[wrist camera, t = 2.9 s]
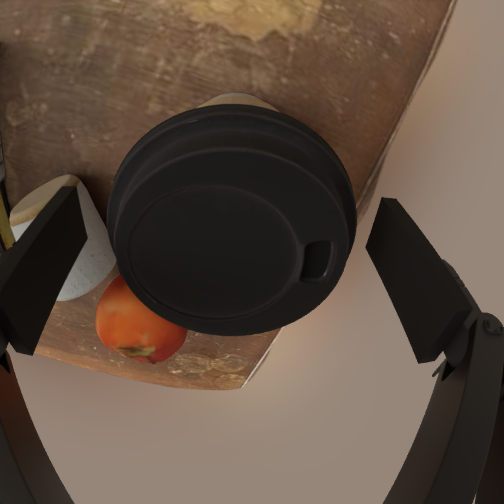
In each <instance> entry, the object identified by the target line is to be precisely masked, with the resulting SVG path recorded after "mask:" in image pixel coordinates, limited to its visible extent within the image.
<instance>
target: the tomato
mask: <svg viewBox="0 0 504 504" xmlns="http://www.w3.org/2000/svg"><path fill="white" fill-rule="evenodd" d="M95 326H96V331H97V333H98V335H99V337H100V339H101V340H102V342H103V343H104V344H105V345H106V346H107V347H108V348H110V349H112V350H114V351H115V352H117V353H119V354H120V355H122V356H125V357H127V358H130V359H133V360H136V361H140V362H147V363H151V364H155V363H156V362H162V361H164V360H166V359H168V358H169V357H170V356H172V355H173V354H174V353H175V352H176V351H177V350H178V349H179V348H180V347H181V346H182V345H183V343H184V341H185V339H186V335H187V331H188V329H185V328H183V327H180V326H177V325H175V324H173V323H171V322H169V321H167V320H165V319H163V318H161V317H160V316H158V315H157V314H155V313H154V312H152V311H151V310H150V309H148V308H147V307H146V306H145V305H144V304H143V303H142V302H141V301H140V300H139V299H138V298H137V297H136V296H135V295H134V294H133V293H132V291H131V290H130V289H129V287H128V286H127V284H126V282H125V281H124V279H123V277H122V275H119V276H118V277H117V278H116V279H115V280H113V282H112V283H111V284H110V285H109V287H108V288H107V289H106V291H105V292H104V294H103V296H102V298H101V300H100V302H99V304H98V306H97V309H96V323H95Z"/></svg>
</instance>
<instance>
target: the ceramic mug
mask: <svg viewBox="0 0 504 504" xmlns="http://www.w3.org/2000/svg"><path fill="white" fill-rule="evenodd" d="M62 186H77V191H78V196H79V201H80V206H81V210H82V215H83V219H84V224H85V228H86V232H87V236H88V239H87V241H86V243H85V245H84V247H83V248H82V250H81V252H80V254H79V256H78V258H77V260H76V261H75V263H74V265H73V267H72V269H71V271H70V273H69V275H68V277H67V279H66V281H65V283H64V285H63V287H62V289H61V291H60V293H59V295H58V298H57V300H56V301H67V300H71V299H74V298H77V297H79V296H81V295H84V294H86V293H88V292H89V291H91V290H92V289H94V288H95V287H96V286H97V285H98V284H99V283H101V282H102V281H103V280H104V279H105V278H106V277H107V275H108V274H109V273H110V271H111V270H112V269H113V267H114V265H115V264H116V257H115V255H114V253H113V250H112V247H111V244H110V240H109V236H108V231H107V229H106V227H105V225H104V223H103V221H102V219H101V217H100V215H99V213H98V211H97V210H96V208H95V206H94V204H93V201H92V199H91V197H90V195H89V193H88V191H87V189H86V188H85V186H84V185H83V183H82V182H81V180H80V179H79V178H78V177H77V176H75V175H70V174H66V175H63V176H60V177H57V178H55V179H53V180H51V181H49V182H47V183H45V184H43V185H42V186H40V187H38V188H37V189H35V190H34V191H32V192H31V193H29V194H28V195H27V196H25V197H24V198H23V199H22V200H21V201H19V202H18V204H17V205H16V206H15V207H14V208H13V209H12V211H11V214H10V218H9V221H10V227H11V229H12V232H13V234H14V237H15V240H16V242H17V240H18V239H19V238H20V236H21V235H22V234H23V232H24V231H25V230H26V229H27V227H28V226H29V225H30V223H31V222H32V221H33V220H34V218H35V217H36V216H37V215H38V214H39V212H40V211H41V210H42V209H43V207H44V206H45V205H46V204H47V203H48V202H49V200H50V199H51V198H52V197H53V196H54V195H55V193H56V192H57V191H58V190H59V189H60V188H61V187H62Z"/></svg>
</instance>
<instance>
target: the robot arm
mask: <svg viewBox="0 0 504 504" xmlns="http://www.w3.org/2000/svg"><path fill="white" fill-rule="evenodd" d="M87 239H88V236H87V232H86V228H85V224H84V219H83V215H82V210H81V206H80V201H79V196H78V191H77V186H62V187H61V188H60V189H59V190H58V191H57V192H56V193H55V195H54V196H53V197H52V198H51V199H50V200H49V202H48V203H47V204H46V205H45V206H44V207H43V209H42V210H41V211H40V212H39V214H38V215H37V216H36V217H35V218H34V220H33V221H32V222H31V223H30V225H29V226H28V227H27V229H26V230H25V231H24V232H23V234H22V235H21V236H20V238H19V239H18V240H17V242H16V243H15V244H14V246H13V247H10V248H9V249H8V250H6V251H5V252H4V253H3V254H2V255H1V256H0V504H74V502H73V501H72V499H71V497H70V495H69V494H68V492H67V491H66V489H65V487H64V485H63V483H62V482H61V480H60V478H59V476H58V474H57V473H56V471H55V469H54V467H53V465H52V463H51V461H50V459H49V457H48V455H47V453H46V451H45V449H44V447H43V445H42V442H41V440H40V438H39V436H38V433H37V431H36V429H35V427H34V424H33V422H32V420H31V417H30V415H29V412H28V409H27V407H26V404H25V401H24V399H23V396H22V393H21V390H20V387H19V385H18V382H17V378H16V375H15V372H14V369H13V365H12V362H11V359H10V355H9V354H8V352H7V350H6V348H7V345H8V343H9V342H10V344H11V345H12V347H13V348H14V350H15V351H16V352H18V353H22V354H27V355H31V356H32V355H33V353H34V351H35V348H36V346H37V343H38V341H39V338H40V336H41V334H42V331H43V329H44V326H45V324H46V322H47V320H48V317H49V315H50V313H51V311H52V308H53V306H54V304H55V302H56V300H57V298H58V295H59V293H60V291H61V289H62V287H63V285H64V283H65V281H66V279H67V277H68V275H69V273H70V271H71V269H72V267H73V265H74V263H75V261H76V260H77V258H78V256H79V254H80V252H81V250H82V248H83V247H84V245H85V243H86V241H87ZM366 250H367V252H368V254H369V255H370V258H371V260H372V262H373V263H374V265H375V267H376V269H377V271H378V274H379V276H380V278H381V280H382V282H383V284H384V286H385V288H386V290H387V292H388V295H389V297H390V299H391V301H392V303H393V305H394V308H395V310H396V312H397V314H398V316H399V318H400V321H401V323H402V325H403V328H404V330H405V332H406V335H407V337H408V339H409V342H410V344H411V347H412V349H413V352H414V354H415V357H416V359H417V362H418V364H419V363H426V362H431V361H435V360H436V359H437V357H438V356H439V355H440V354H441V352H442V351H444V354H445V356H446V359H445V360H444V361H443V362H442V363H441V365H440V366H439V367H438V368H437V369H436V371H435V372H434V373H433V375H432V377H434V376H435V375H436V374H437V373H439V375H438V378H437V381H436V384H435V387H434V390H433V393H432V396H431V399H430V402H429V404H428V407H427V410H426V412H425V415H424V418H423V420H422V423H421V425H420V428H419V430H418V433H417V435H416V437H415V440H414V442H413V444H412V447H411V449H410V451H409V453H408V455H407V458H406V460H405V462H404V464H403V466H402V468H401V470H400V472H399V474H398V476H397V478H396V480H395V482H394V484H393V486H392V488H391V490H390V491H389V493H388V495H387V497H386V499H385V501H384V502H383V504H472V503H473V500H474V498H475V495H476V499H475V504H504V327H503V325H502V323H501V322H500V321H499V320H498V319H497V318H496V317H495V316H494V315H492V314H489V313H482V312H481V310H480V309H479V307H478V305H477V304H476V302H475V300H474V299H473V297H472V295H471V294H470V293H469V291H468V289H467V288H466V287H465V285H464V283H463V282H462V280H461V279H460V277H459V276H458V274H457V273H456V271H455V270H454V268H453V267H452V266H451V265H449V264H448V263H447V262H446V261H445V260H442V259H441V258H440V256H439V255H438V253H437V252H436V251H435V249H434V248H433V246H432V245H431V244H430V242H429V241H428V239H427V238H426V237H425V235H424V234H423V233H422V231H421V230H420V229H419V227H418V226H417V225H416V223H415V222H414V221H413V220H412V218H411V217H410V216H409V215H408V213H407V212H406V211H405V209H404V208H403V207H402V205H401V204H400V203H399V202H398V201H397V199H393V198H384V197H382V198H381V201H380V204H379V208H378V211H377V214H376V217H375V220H374V223H373V227H372V230H371V233H370V235H369V238H368V242H367V244H366Z"/></svg>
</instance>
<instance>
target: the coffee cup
mask: <svg viewBox="0 0 504 504" xmlns="http://www.w3.org/2000/svg"><path fill="white" fill-rule="evenodd" d="M356 227H357V210H356V203H355V198H354V194H353V190H352V186H351V182H350V179H349V177H348V174H347V172H346V170H345V168H344V166H343V164H342V162H341V160H340V159H339V157H338V156H337V154H336V153H335V152H334V150H333V149H332V148H331V147H330V146H329V144H328V143H327V142H326V141H325V140H324V139H323V138H322V137H321V136H319V135H318V134H317V133H316V132H315V131H313V130H312V129H311V128H309V127H308V126H306V125H305V124H303V123H302V122H300V121H298V120H296V119H294V118H292V117H290V116H288V115H285V114H283V113H281V112H279V111H278V110H277V109H275V108H274V107H273V106H271V105H270V104H268V103H266V102H263V101H262V100H260V99H259V98H257V97H255V96H252V95H249V94H245V93H226V94H222V95H219V96H216V97H215V98H213V99H211V100H209V101H207V102H205V103H203V104H202V105H200V106H198V107H196V108H195V109H192V110H189V111H185V112H183V113H180V114H178V115H175V116H173V117H171V118H169V119H167V120H165V121H164V122H162V123H160V124H159V125H157V126H156V127H154V128H153V129H151V130H150V131H149V132H148V133H147V134H145V135H144V136H143V137H142V138H141V139H140V140H139V141H138V142H137V143H136V144H135V145H134V146H133V147H132V149H131V150H130V151H129V153H128V154H127V155H126V157H125V158H124V160H123V162H122V163H121V165H120V167H119V169H118V171H117V174H116V176H115V179H114V182H113V185H112V190H111V193H110V196H109V201H108V207H107V230H108V236H109V240H110V244H111V247H112V250H113V253H114V255H115V257H116V261H117V265H118V268H119V270H120V273H121V275H122V277H123V279H124V281H125V282H126V284H127V286H128V287H129V289H130V290H131V291H132V293H133V294H134V295H135V296H136V297H137V298H138V299H139V300H140V301H141V302H142V303H143V304H144V305H145V306H146V307H147V308H148V309H150V310H151V311H152V312H154V313H155V314H157V315H158V316H160V317H161V318H163V319H165V320H167V321H169V322H171V323H173V324H175V325H177V326H180V327H183V328H185V329H189V330H192V331H195V332H200V333H204V334H210V335H219V336H245V335H253V334H259V333H264V332H268V331H272V330H275V329H278V328H281V327H283V326H286V325H288V324H290V323H293V322H295V321H296V320H298V319H300V318H302V317H303V316H305V315H307V314H308V313H310V312H311V311H312V310H314V309H315V308H316V307H317V306H318V305H320V304H321V303H322V302H323V301H324V300H325V299H326V298H327V297H328V295H329V294H330V293H331V292H332V290H333V289H334V288H335V286H336V284H337V283H338V281H339V279H340V277H341V275H342V273H343V271H344V268H345V265H346V261H347V259H348V257H349V254H350V252H351V249H352V246H353V243H354V239H355V235H356Z"/></svg>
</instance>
